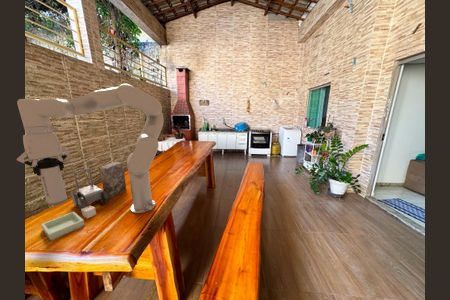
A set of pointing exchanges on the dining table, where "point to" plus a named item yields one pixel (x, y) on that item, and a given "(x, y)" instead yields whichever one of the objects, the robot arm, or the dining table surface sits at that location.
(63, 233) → the tray
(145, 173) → the robot arm
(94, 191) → the trolley
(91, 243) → the dining table surface
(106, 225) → the dining table surface
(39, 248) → the dining table surface
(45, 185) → the travel mug
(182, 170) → the dining table surface
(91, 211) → the white block
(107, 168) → the stone block
